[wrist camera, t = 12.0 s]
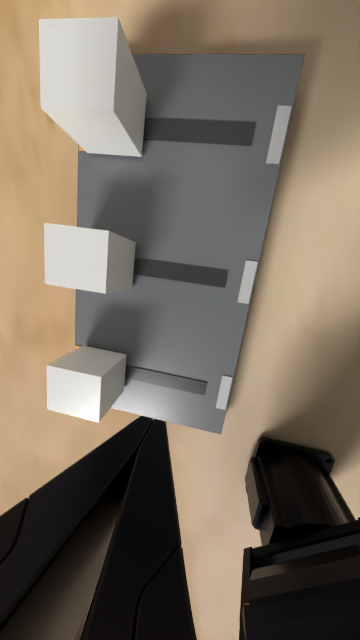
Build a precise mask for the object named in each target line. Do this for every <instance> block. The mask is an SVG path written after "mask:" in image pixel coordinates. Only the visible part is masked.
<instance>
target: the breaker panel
mask: <svg viewBox="0 0 360 640" xmlns="http://www.w3.org/2000/svg"><path fill="white" fill-rule="evenodd" d="M304 55H305V54H132V56H133V58H134V61H135V64H136V66H137V69H138V72H139V74H140V77H141V80H142V82H143V85H144V88H145V91H146V93H147V97H146V109H145V122H144V134H143V146H142V157H137V156H123V155H108V154H94V153H87V152H86V151H85V150H84V149H83V148H82V147H81V146H80V145H79V144H78V198H77V227H82V228H90V229H98V230H107V231H110V232H113V233H115V234H118V235H120V236H122V237H125V238H127V239H129V240H132V241H134V242H136V246H135V258H134V270H133V282H132V289H131V290H125V291H119V292H113V293H107V294H104V293H98V292H92V291H86V290H80V289H76V313H75V350H76V349H78V348H80V347H82V346H87V347H92V348H97V349H102V350H107V351H112V352H117V353H122V354H127V356H126V368H125V381H124V391H123V393H122V394H121V395H120V396H119V398H118V399H117V400H116V401H115V403H114V404H113V405H112V406H111V408H114V409H118V410H122V411H126V412H130V413H135V414H139V415H143V416H147V417H151V418H155V419H160V420H164V421H168V422H172V423H176V424H180V425H184V426H189V427H193V428H197V429H201V430H205V431H209V432H214V433H218V434H221V432H222V428H223V423H224V419H225V414H226V410H227V405H228V401H229V396H230V391H231V387H232V382H233V378H234V373H235V369H236V364H237V360H238V355H239V351H240V346H241V341H242V337H243V332H244V328H245V323H246V319H247V314H248V310H249V305H250V301H251V296H252V291H253V287H254V282H255V278H256V273H257V269H258V264H259V260H260V255H261V250H262V246H263V241H264V237H265V232H266V228H267V223H268V219H269V214H270V210H271V205H272V200H273V196H274V191H275V187H276V182H277V178H278V173H279V169H280V164H281V160H282V155H283V150H284V146H285V141H286V137H287V132H288V128H289V123H290V119H291V114H292V109H293V105H294V100H295V96H296V91H297V87H298V82H299V78H300V73H301V69H302V64H303V59H304Z"/></svg>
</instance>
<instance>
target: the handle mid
mask: <svg viewBox="0 0 360 640" xmlns="http://www.w3.org/2000/svg"><path fill="white" fill-rule="evenodd" d="M44 244H45V284H49V285H55V286H61V287H67V288H73V289H80V290H86V291H92V292H98V293H104V294H107V293H113V292H119V291H125V290H131V289H132V282H133V270H134V258H135V246H136V242H134V241H132V240H129V239H127V238H125V237H122V236H120V235H118V234H115V233H113V232H110V231H107V230H98V229H90V228H82V227H74V226H65V225H57V224H49V223H44Z"/></svg>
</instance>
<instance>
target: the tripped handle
mask: <svg viewBox="0 0 360 640" xmlns="http://www.w3.org/2000/svg"><path fill="white" fill-rule="evenodd" d="M39 39H40V92H41V109H42V110H43V111H44V112H45V113H46V114H48V115H49V116H50V117H51V118H52V119H53V120H54V121H55V122H56V123H57V124H58V125H59V126H60V127H61V128H62V129H63V130H64V131H65V132H66V133H67V134H68V135H69V136H70V137H71V138H72V139H73V140H74V141H76V142H77V143H78V144H79V145H80V146H81V147H82V148H83V149H84V150H85V151H86V152H87V153H94V154H108V155H123V156H137V157H142V146H143V134H144V122H145V109H146V97H147V93H146V91H145V88H144V85H143V82H142V80H141V77H140V74H139V72H138V69H137V66H136V64H135V61H134V58H133V56H132V53H131V50H130V48H129V45H128V42H127V40H126V37H125V34H124V32H123V29H122V26H121V24H120V21H119V18H118V17H110V18H67V19H39Z"/></svg>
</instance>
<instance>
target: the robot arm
mask: <svg viewBox="0 0 360 640" xmlns="http://www.w3.org/2000/svg"><path fill="white" fill-rule="evenodd" d="M262 443H266V444H262ZM327 458H329V459H327ZM334 462H335V460H334V458H333V456H332V455H331V454H330V453H328V452H324V451H320V450H315V449H311V448H307V447H303V446H298V445H294V444H290V443H286V442H281V441H277V440H273V439H269V438H264V437H262V438H260V439H259V440H258V442H257V446H256V450H255V453H254V457H252V458H250V461H249V465H248V469H247V473H246V476H245V482H246V492H247V495H248V502H249V508H250V515H251V522H252V525H253V527H254V528H255V529H258V530H259V531H260V537H261V543H262V546H259V547H255V548H252V547H248V548H245V549H244V555H243V572H242V590H241V607H240V632H239V640H360V517H359V518H358V519H359V520H356V519H355V518H354V516H353V514H352V513H351V511H350V509H349V507H348V506H347V504H346V502H345V500H344V499H343V497H342V495H341V493H340V492H339V490H338V488H337V487H336V485H335V483H334V481H333V480H332V478H331V476H330V473H331V470H332V468H333V465H334ZM94 591H95V592H94ZM93 594H94V596H93ZM92 596H93V599H92ZM91 599H92V602H91V606H90V609H89V612H88V615H87V619H86V622H85V625H84V629H83V632H82V635H81V638H80V640H197V638H196V633H195V628H194V623H193V618H192V611H191V605H190V598H189V592H188V585H187V579H186V572H185V565H184V557H183V549H182V547H181V536H180V528H179V520H178V512H177V505H176V497H175V489H174V481H173V474H172V466H171V458H170V451H169V443H168V435H167V427H166V422H165V421H162V420H157V419H154V420H153V419H152V418H149V417H145V416H140V417H139V418H137V419H136V420H134V421H133V422H132V423H130V424H129V425H127V426H126V427H125V428H123V429H122V430H120V431H119V432H118V433H116V434H115V435H113V436H112V437H111V438H109V439H108V440H106V441H105V442H104V443H102V444H101V445H99V446H98V447H97V448H95V449H94V450H92V451H91V452H90V453H88V454H87V455H85V456H84V457H83V458H81V459H80V460H78V461H77V462H76V463H74V464H73V465H71V466H70V467H69V468H67V469H66V470H64V471H63V472H62V473H60V474H59V475H57V476H56V477H55V478H53V479H52V480H50V481H49V482H48V483H46V484H45V485H43V486H42V487H41V488H39V489H38V490H36V491H35V492H34V493H32V494H31V495H30V496H29V499H28V498H25V499H23V500H22V501H21V502H19V503H18V504H16V505H15V506H14V507H12V508H11V509H9V510H8V511H7V512H5V513H4V514H2V515H1V516H0V640H74V639H75V637H76V634H77V632H78V630H79V627H80V625H81V622H82V620H83V618H84V615H85V613H86V610H87V608H88V606H89V603H90V601H91Z"/></svg>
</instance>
